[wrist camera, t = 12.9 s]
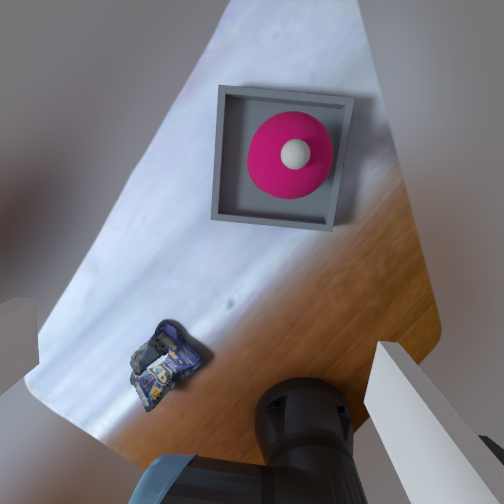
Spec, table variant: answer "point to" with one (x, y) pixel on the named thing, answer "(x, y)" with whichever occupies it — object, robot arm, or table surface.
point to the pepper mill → (290, 155)
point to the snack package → (162, 364)
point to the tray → (237, 147)
